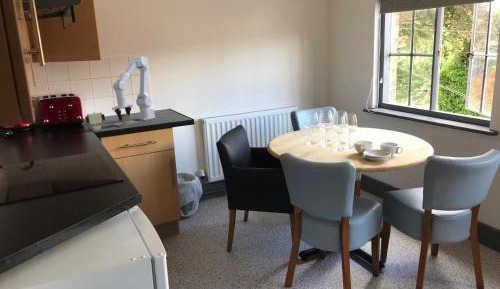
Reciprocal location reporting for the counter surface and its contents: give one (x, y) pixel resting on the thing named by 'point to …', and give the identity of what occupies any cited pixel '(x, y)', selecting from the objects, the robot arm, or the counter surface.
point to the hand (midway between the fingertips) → (124, 119)
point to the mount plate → (125, 123)
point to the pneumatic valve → (95, 120)
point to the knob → (124, 118)
